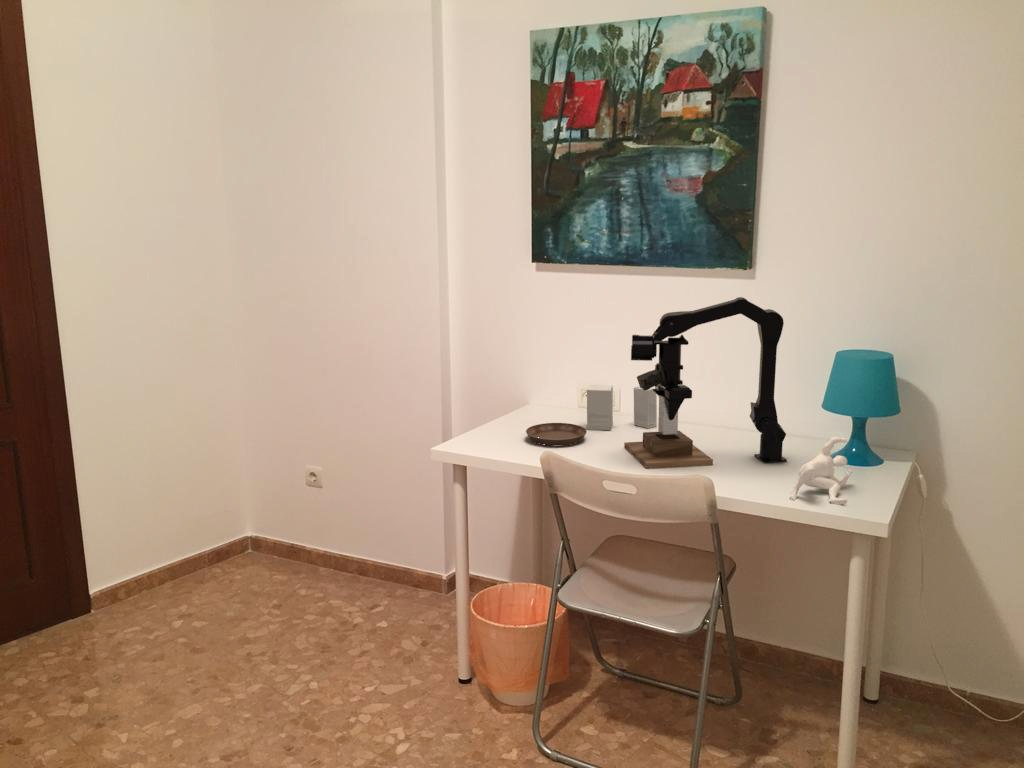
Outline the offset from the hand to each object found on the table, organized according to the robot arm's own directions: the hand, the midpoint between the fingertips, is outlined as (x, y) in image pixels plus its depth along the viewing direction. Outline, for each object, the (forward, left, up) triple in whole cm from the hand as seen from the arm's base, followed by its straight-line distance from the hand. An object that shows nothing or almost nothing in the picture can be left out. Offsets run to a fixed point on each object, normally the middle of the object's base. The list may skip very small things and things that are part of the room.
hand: (668, 417), depth 225 cm
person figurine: (-34, -26, -11) cm, 45 cm away
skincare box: (+32, -4, -11) cm, 34 cm away
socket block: (0, 0, -11) cm, 11 cm away
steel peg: (0, 0, -4) cm, 4 cm away
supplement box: (+33, +10, -11) cm, 36 cm away
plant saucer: (+22, +26, -11) cm, 36 cm away
